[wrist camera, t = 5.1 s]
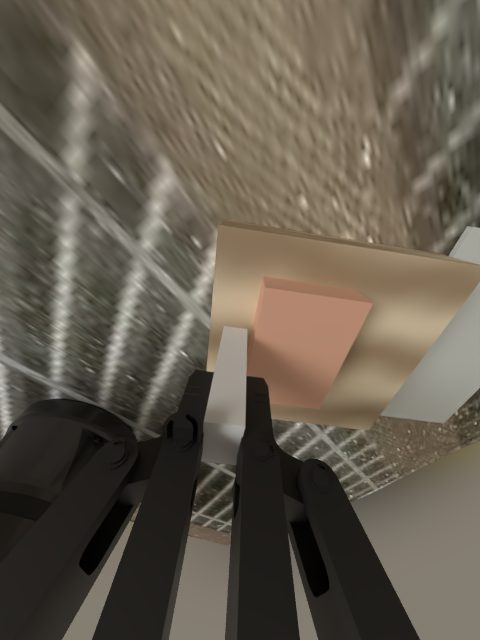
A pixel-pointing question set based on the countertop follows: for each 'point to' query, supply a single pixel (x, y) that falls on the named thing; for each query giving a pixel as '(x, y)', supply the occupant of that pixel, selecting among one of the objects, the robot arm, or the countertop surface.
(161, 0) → the countertop surface
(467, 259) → the mat
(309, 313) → the pink block
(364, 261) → the board
